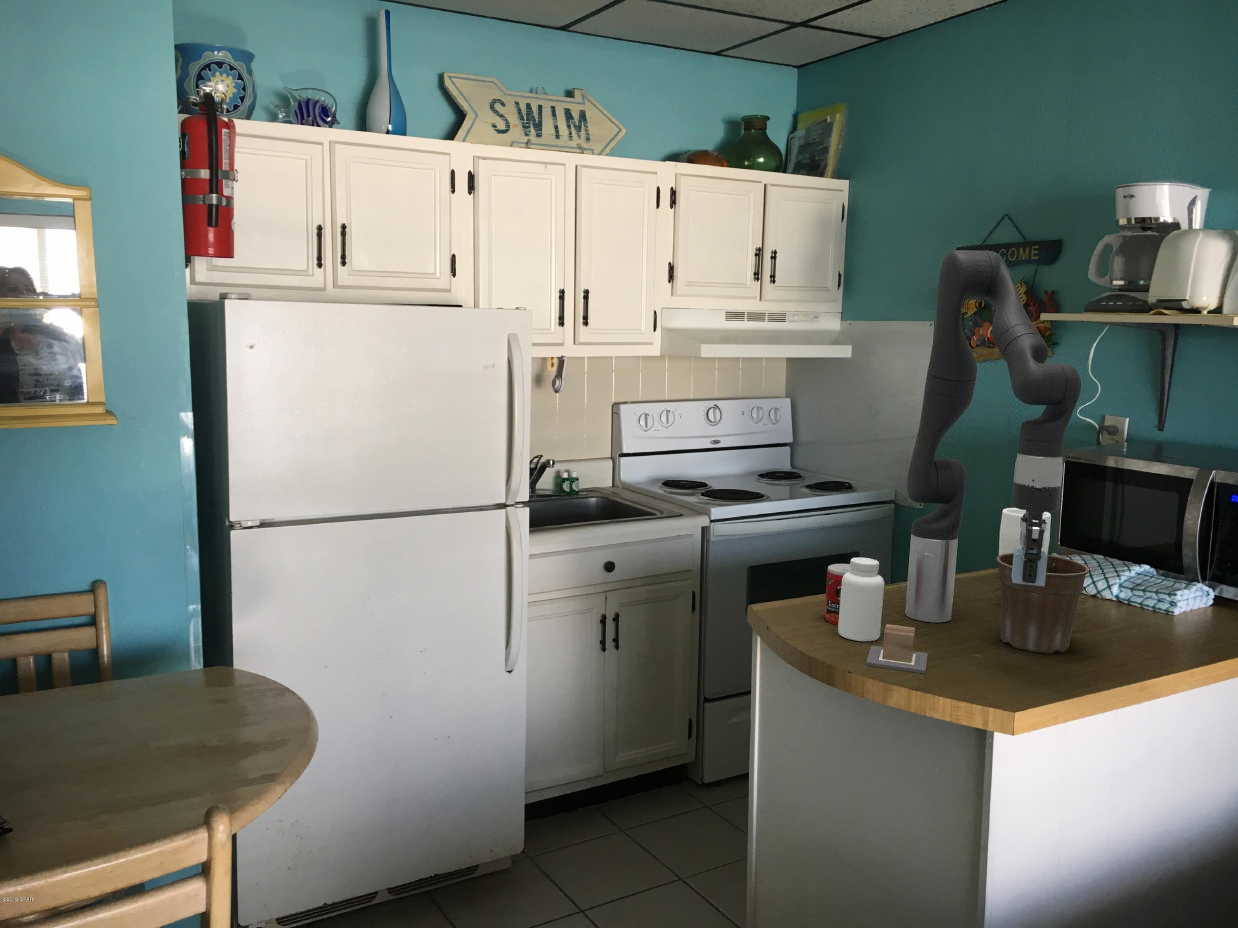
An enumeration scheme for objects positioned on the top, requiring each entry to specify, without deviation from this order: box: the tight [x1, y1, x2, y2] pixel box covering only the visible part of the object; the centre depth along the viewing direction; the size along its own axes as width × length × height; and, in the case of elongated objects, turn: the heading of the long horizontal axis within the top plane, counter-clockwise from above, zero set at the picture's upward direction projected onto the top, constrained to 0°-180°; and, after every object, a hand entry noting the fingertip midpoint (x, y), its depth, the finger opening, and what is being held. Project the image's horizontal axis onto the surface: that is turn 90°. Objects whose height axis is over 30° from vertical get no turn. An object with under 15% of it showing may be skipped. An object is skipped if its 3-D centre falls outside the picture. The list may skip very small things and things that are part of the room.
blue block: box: [1012, 548, 1048, 586], centre depth 168 cm, size 5×5×5 cm
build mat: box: [865, 645, 929, 675], centre depth 175 cm, size 10×10×1 cm
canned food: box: [824, 563, 851, 626], centre depth 198 cm, size 8×8×11 cm
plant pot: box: [996, 553, 1090, 654], centre depth 187 cm, size 16×16×16 cm
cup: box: [998, 507, 1052, 556], centre depth 210 cm, size 10×10×22 cm
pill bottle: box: [837, 557, 885, 642], centre depth 188 cm, size 8×8×15 cm
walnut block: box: [882, 624, 916, 663], centre depth 175 cm, size 5×5×5 cm
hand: (1027, 578), depth 168 cm, fingers closed on blue block, 5 cm apart
